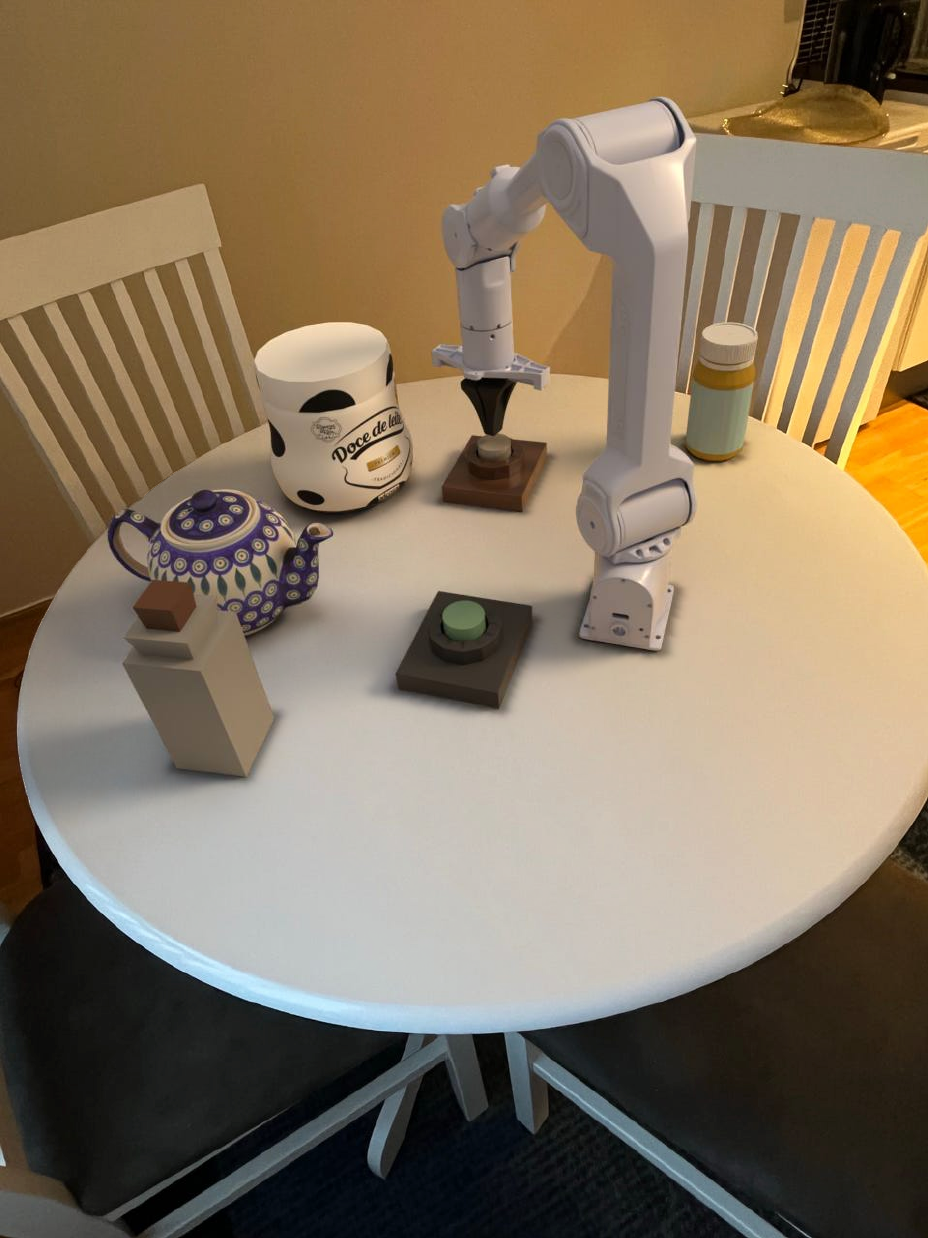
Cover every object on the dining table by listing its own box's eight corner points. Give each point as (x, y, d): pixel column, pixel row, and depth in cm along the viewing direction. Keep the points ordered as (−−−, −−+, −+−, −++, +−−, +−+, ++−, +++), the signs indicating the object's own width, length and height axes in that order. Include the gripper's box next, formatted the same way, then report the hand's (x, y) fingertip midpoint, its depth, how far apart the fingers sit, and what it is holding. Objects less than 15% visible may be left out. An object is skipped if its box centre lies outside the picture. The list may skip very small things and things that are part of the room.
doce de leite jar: (404, 526, 98) (382, 385, 86) (264, 526, 100) (222, 388, 88) (426, 448, 110) (409, 315, 98) (300, 449, 113) (268, 319, 101)
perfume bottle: (246, 777, 73) (182, 628, 61) (176, 768, 74) (100, 621, 62) (274, 718, 78) (220, 569, 65) (208, 710, 79) (143, 563, 67)
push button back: (522, 511, 98) (521, 483, 95) (442, 501, 101) (439, 473, 98) (547, 457, 106) (546, 429, 104) (472, 449, 109) (470, 422, 106)
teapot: (103, 641, 87) (44, 528, 77) (173, 553, 98) (128, 443, 88) (324, 671, 81) (290, 552, 71) (373, 573, 92) (349, 458, 82)
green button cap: (478, 645, 77) (477, 632, 76) (438, 638, 78) (436, 625, 77) (491, 617, 80) (489, 603, 79) (451, 610, 81) (450, 597, 80)
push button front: (499, 708, 76) (496, 679, 73) (398, 689, 79) (392, 659, 76) (532, 621, 84) (531, 591, 82) (440, 606, 87) (436, 577, 84)
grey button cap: (506, 464, 99) (505, 452, 98) (474, 461, 100) (473, 448, 99) (515, 447, 102) (514, 434, 101) (484, 444, 103) (483, 431, 102)
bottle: (748, 461, 102) (768, 344, 92) (690, 464, 102) (704, 349, 92) (735, 432, 107) (753, 318, 97) (680, 435, 108) (693, 322, 97)
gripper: (410, 323, 91) (424, 433, 100) (525, 346, 84) (529, 462, 93) (446, 299, 95) (457, 406, 104) (559, 319, 88) (559, 432, 98)
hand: (493, 431), depth 99 cm, fingers closed
